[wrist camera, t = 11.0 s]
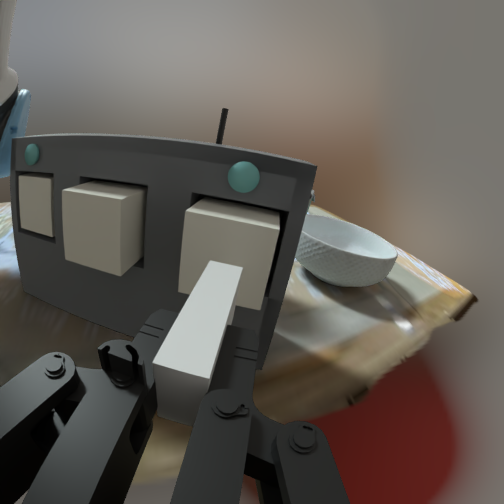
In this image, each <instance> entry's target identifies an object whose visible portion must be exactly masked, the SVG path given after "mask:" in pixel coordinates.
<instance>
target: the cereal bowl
mask: <svg viewBox="0 0 504 504" xmlns="http://www.w3.org/2000/svg"><path fill="white" fill-rule="evenodd" d="M397 256H398V253H397V251H396V249H395V248H394V247H393V246H392V245H391V244H390V243H388V242H387V241H386V240H384V239H383V238H381V237H380V236H378V235H376V234H374V233H372V232H370V231H368V230H366V229H364V228H362V227H359V226H357V225H354V224H352V223H349V222H346V221H342V220H339V219H335V218H331V217H327V216H321V215H313V214H306V216H305V220H304V224H303V228H302V232H301V236H300V240H299V243H298V247H297V251H296V255H295V258H296V259H297V261H298V262H299V263H300V264H301V265H302V266H303V267H305V268H306V269H307V270H309V271H310V272H311V273H312V274H313V275H314V276H315V277H317V278H318V279H320V280H322V281H324V282H326V283H329V284H331V285H335V286H340V287H351V286H353V287H364V286H370V285H374V284H376V283H378V282H380V281H381V280H383V279H384V278H385V277H386V276H387V275H388V274H389V272H390V271H391V269H392V267H393V265H394V263H395V261H396V259H397Z"/></svg>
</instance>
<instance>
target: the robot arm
mask: <svg viewBox="0 0 504 504" xmlns="http://www.w3.org/2000/svg"><path fill="white" fill-rule="evenodd" d="M16 2H17V0H0V178H3V177H7V176H9V175H10V162H11V143H12V138H18V137H24V136H25V131H26V126H27V120H28V114H29V108H30V100H31V95H30V92H29V91H28V90H25V89H21V90H19V91H18V75H17V73H16V72H15V71H14V70H13V69H11V68H9V67H8V54H9V44H10V36H11V28H12V22H13V16H14V11H15V6H16ZM242 269H243V267H238V266H234V265H229V264H225V263H220V262H215V261H211V260H210V262H209V263H208V265H207V267H206V268H205V270H204V272H203V273H202V275H201V277H200V279H199V280H198V282H197V284H196V285H195V287H194V289H193V291H192V292H191V294H190V296H189V298H188V299H187V301H186V303H185V305H184V306H183V308H182V310H181V312H180V313H175V312H171V311H168V310H164V309H160V310H158V311H156V312H154V313H153V314H151V315H150V316H149V318H148V319H147V321H146V322H145V324H144V325H143V326H142V328H141V329H140V331H139V333H138V334H137V335H136V337H135V338H134V339H133V341H132V342H130V341H127V340H122V339H117V340H110V341H107V342H105V343H103V344H102V345H100V346H99V347H98V348H97V349H98V354H99V358H100V362H101V366H102V369H90V368H83V367H76V366H75V364H74V361H73V360H72V359H71V357H70V356H68V355H66V354H64V353H60V352H52V353H48V354H46V355H44V356H42V357H41V358H39V359H38V360H36V361H35V362H34V363H32V364H31V365H30V366H28V367H27V368H26V369H24V370H23V371H22V372H20V373H19V374H17V375H16V376H15V377H13V378H12V379H11V380H9V381H8V382H7V383H6V384H4V385H3V386H2V387H0V504H14V503H15V502H16V501H17V500H18V499H19V498H20V497H21V496H22V495H23V494H24V493H25V492H26V491H27V490H28V489H29V488H30V489H29V491H28V493H27V495H26V497H25V498H24V500H23V503H22V504H123V503H124V501H125V498H126V495H127V493H128V490H129V488H130V485H131V482H132V480H133V477H134V475H135V472H136V470H137V467H138V464H139V462H140V459H141V457H142V454H143V452H144V449H145V447H146V444H147V442H148V439H149V437H150V434H151V432H152V428H153V421H152V419H153V417H154V414H155V412H156V410H157V414H158V416H159V417H162V418H165V419H168V420H171V421H175V422H178V423H182V424H185V425H189V426H192V427H193V429H192V433H191V436H190V439H189V443H188V446H187V449H186V452H185V456H184V459H183V462H182V466H181V469H180V472H179V476H178V479H177V482H176V485H175V489H174V492H173V496H172V499H171V502H170V504H239V500H240V494H241V488H242V481H243V474H245V475H247V476H250V477H252V478H254V479H255V480H256V486H257V491H258V497H259V502H260V504H350V502H349V499H348V496H347V494H346V491H345V488H344V486H343V483H342V480H341V477H340V474H339V472H338V469H337V466H336V463H335V461H334V458H333V455H332V452H331V449H330V447H329V444H328V441H327V438H326V436H325V435H324V433H323V432H322V430H321V429H319V428H318V427H317V426H315V425H314V424H311V423H308V422H305V421H294V422H290V423H287V424H286V425H283V424H281V423H278V422H276V421H274V420H271V419H269V418H267V417H266V416H264V415H263V414H262V413H260V412H259V411H258V409H257V408H256V407H255V405H254V402H253V398H252V393H253V385H254V378H255V370H256V361H257V354H258V346H259V339H258V337H257V335H256V332H255V330H251V329H246V328H241V327H236V326H232V325H231V324H232V320H233V316H234V311H235V306H236V300H237V295H238V290H239V285H240V280H241V275H242Z"/></svg>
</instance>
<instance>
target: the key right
mask: <svg viewBox="0 0 504 504" xmlns="http://www.w3.org/2000/svg"><path fill="white" fill-rule="evenodd" d="M279 230H280V220H279V212H278V211H273V210H268V209H263V208H259V207H254V206H249V205H244V204H239V203H234V202H229V201H223V200H218V199H213V198H207V197H204V198H203V199H201V200H200V201H198V202H197V203H196V204H194V205H193V206H191V207H190V208H189V209H187V210H186V211H185V219H184V228H183V238H182V248H181V259H180V272H179V286H178V292H181V293H185V294H189V295H190V294H191V292H192V291H193V289H194V287H195V285H196V284H197V282H198V280H199V279H200V277H201V275H202V273H203V272H204V270H205V268H206V267H207V265H208V263H209V262H210V260H211V261H215V262H220V263H225V264H229V265H234V266H238V267H243V269H242V275H241V280H240V285H239V290H238V295H237V300H236V305H237V306H241V307H246V308H251V309H256V310H260V309H261V305H262V301H263V297H264V293H265V289H266V285H267V281H268V277H269V273H270V268H271V264H272V260H273V256H274V252H275V247H276V243H277V239H278V235H279Z"/></svg>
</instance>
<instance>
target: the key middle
mask: <svg viewBox="0 0 504 504" xmlns="http://www.w3.org/2000/svg"><path fill="white" fill-rule="evenodd" d="M147 193H148V187H141V186H135V185H128V184H121V183H114V182H106V181H98V180H94V181H91V182H87V183H84V184H80V185H77V186H74V187H70V188H67V189H64V190H62V220H63V238H64V250H65V259H66V260H69V261H72V262H75V263H78V264H81V265H84V266H88V267H91V268H94V269H97V270H101V271H104V272H107V273H111V274H114V275H118V276H122V275H123V274H124V273H125V272H126V271H127V270H128V269H129V268H131V267H132V266H133V265H134V264H135V263H136V262H137V261H138V260H139V259H140V258H142V257H143V256H144V239H145V220H146V205H147Z"/></svg>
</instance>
